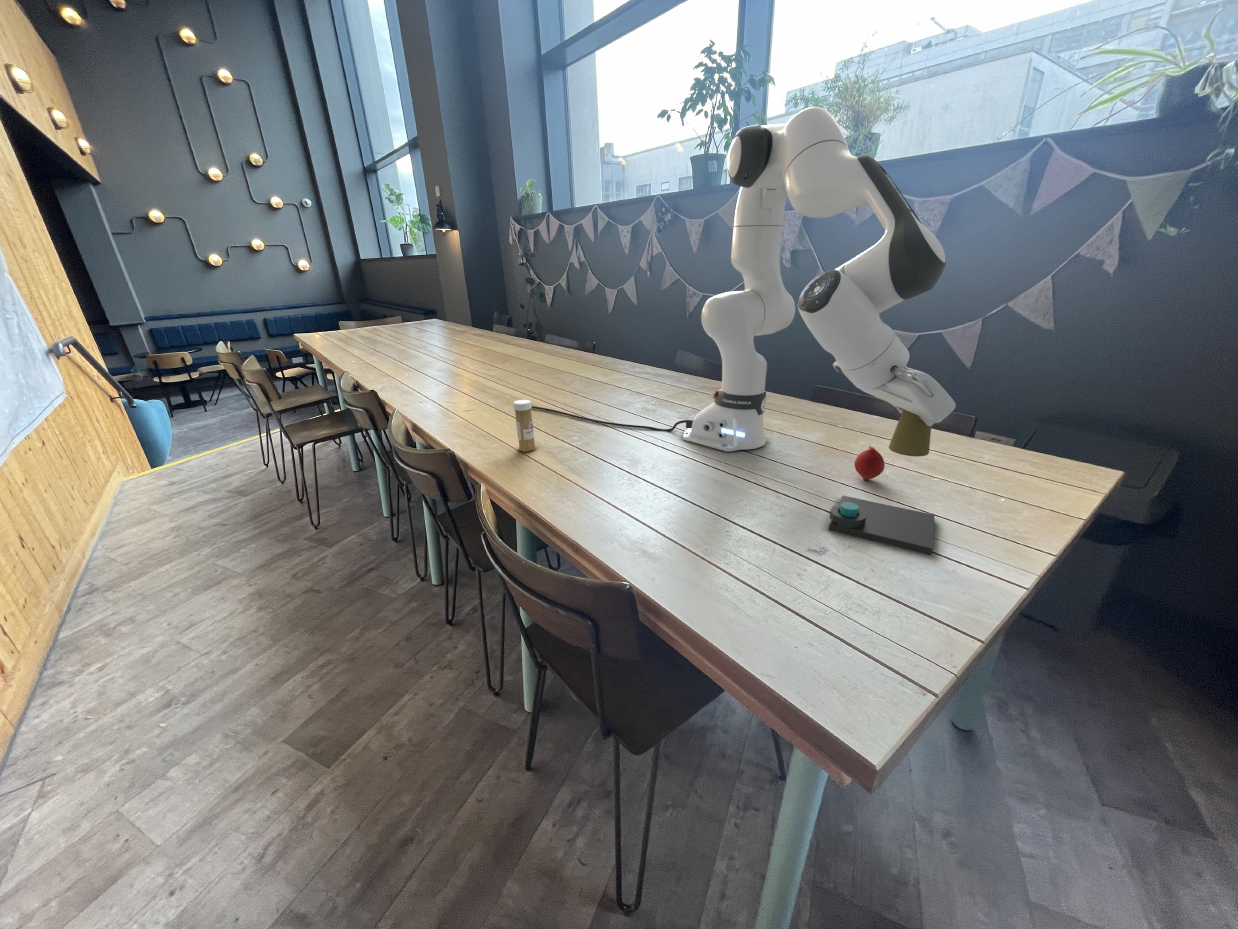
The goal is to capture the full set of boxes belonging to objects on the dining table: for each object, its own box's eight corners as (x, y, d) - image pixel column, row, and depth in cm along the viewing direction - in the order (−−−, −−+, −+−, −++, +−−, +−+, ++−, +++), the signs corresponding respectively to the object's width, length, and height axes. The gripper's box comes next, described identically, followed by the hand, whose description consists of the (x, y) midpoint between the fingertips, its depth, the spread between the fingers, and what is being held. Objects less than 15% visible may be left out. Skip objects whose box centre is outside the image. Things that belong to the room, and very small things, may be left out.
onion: (878, 475, 106) (885, 442, 103) (882, 486, 102) (890, 452, 98) (850, 472, 108) (856, 440, 105) (853, 483, 103) (859, 449, 100)
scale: (825, 529, 86) (828, 515, 85) (838, 500, 96) (841, 487, 95) (930, 555, 78) (935, 540, 77) (932, 521, 88) (936, 507, 87)
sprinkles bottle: (533, 452, 126) (528, 403, 121) (517, 452, 126) (511, 404, 121) (537, 445, 130) (532, 398, 125) (521, 446, 131) (515, 399, 125)
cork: (934, 457, 78) (951, 392, 73) (895, 455, 79) (909, 391, 74) (921, 444, 83) (936, 383, 79) (884, 442, 84) (896, 382, 80)
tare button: (837, 515, 86) (839, 507, 85) (840, 508, 88) (842, 500, 87) (855, 519, 84) (857, 511, 84) (858, 512, 87) (860, 504, 86)
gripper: (939, 358, 64) (986, 423, 68) (855, 337, 83) (896, 388, 87) (901, 392, 65) (949, 453, 70) (827, 363, 84) (869, 413, 89)
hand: (919, 417), depth 79 cm, fingers closed on cork, 4 cm apart
